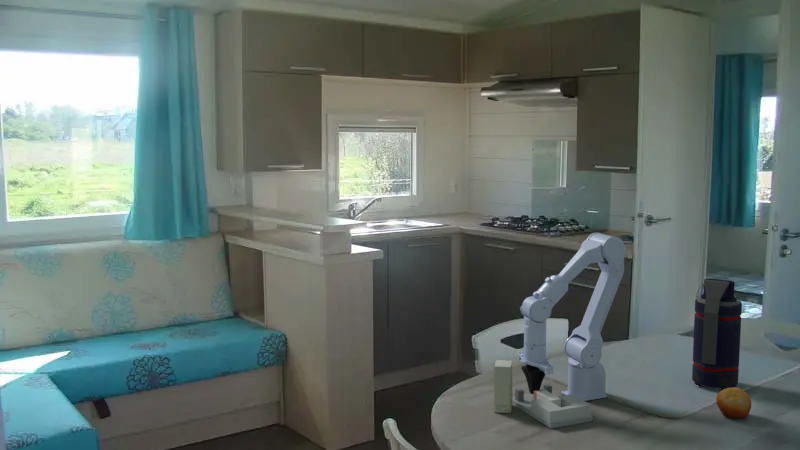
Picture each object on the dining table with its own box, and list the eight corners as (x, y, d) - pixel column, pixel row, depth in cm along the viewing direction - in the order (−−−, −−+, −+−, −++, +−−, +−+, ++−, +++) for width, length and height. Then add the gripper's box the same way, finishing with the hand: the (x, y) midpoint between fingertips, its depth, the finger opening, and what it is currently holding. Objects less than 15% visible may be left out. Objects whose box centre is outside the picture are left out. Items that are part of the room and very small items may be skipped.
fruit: (748, 404, 200) (751, 383, 195) (750, 429, 194) (753, 408, 189) (714, 400, 203) (716, 380, 198) (715, 425, 197) (717, 404, 192)
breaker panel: (545, 394, 213) (546, 379, 212) (592, 421, 193) (592, 405, 193) (507, 400, 208) (507, 385, 208) (550, 428, 189) (550, 412, 188)
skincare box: (511, 413, 199) (511, 367, 197) (493, 412, 200) (493, 366, 198) (512, 405, 205) (513, 360, 203) (495, 404, 206) (495, 359, 204)
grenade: (698, 375, 227) (702, 273, 223) (742, 383, 220) (747, 278, 216) (684, 389, 216) (688, 281, 212) (730, 397, 209) (735, 286, 205)
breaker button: (544, 399, 205) (544, 389, 205) (561, 409, 198) (561, 398, 198) (533, 401, 204) (533, 390, 204) (550, 411, 197) (550, 400, 196)
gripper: (507, 337, 210) (507, 386, 212) (536, 352, 197) (535, 404, 199) (530, 334, 213) (529, 383, 214) (560, 348, 199) (559, 400, 201)
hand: (534, 393), depth 207 cm, fingers closed
